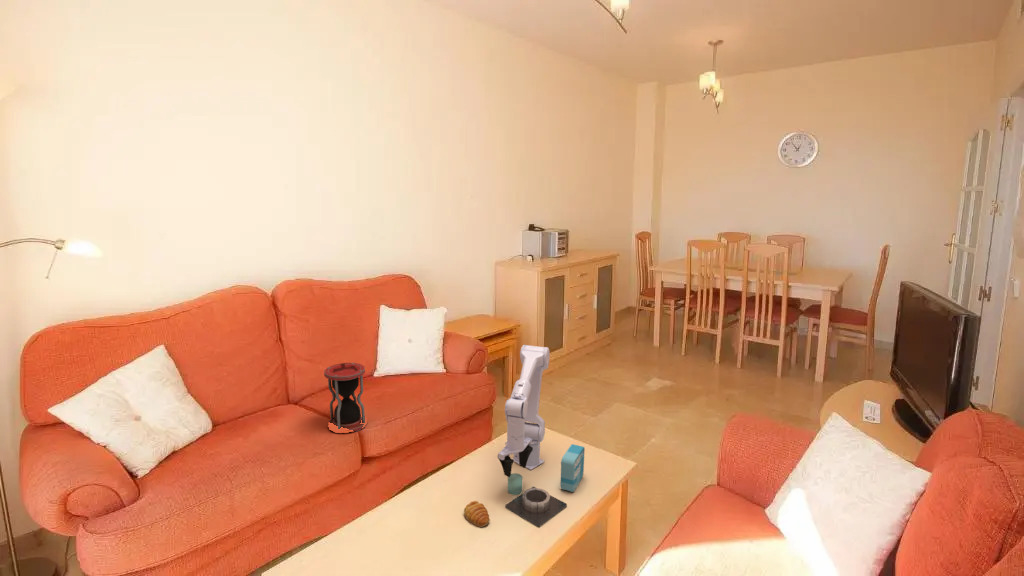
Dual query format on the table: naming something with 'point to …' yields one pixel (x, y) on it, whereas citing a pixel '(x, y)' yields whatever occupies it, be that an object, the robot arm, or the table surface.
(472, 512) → the pastry
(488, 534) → the table surface
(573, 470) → the data package
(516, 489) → the teal rounded cylinder
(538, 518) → the square base ring holder
